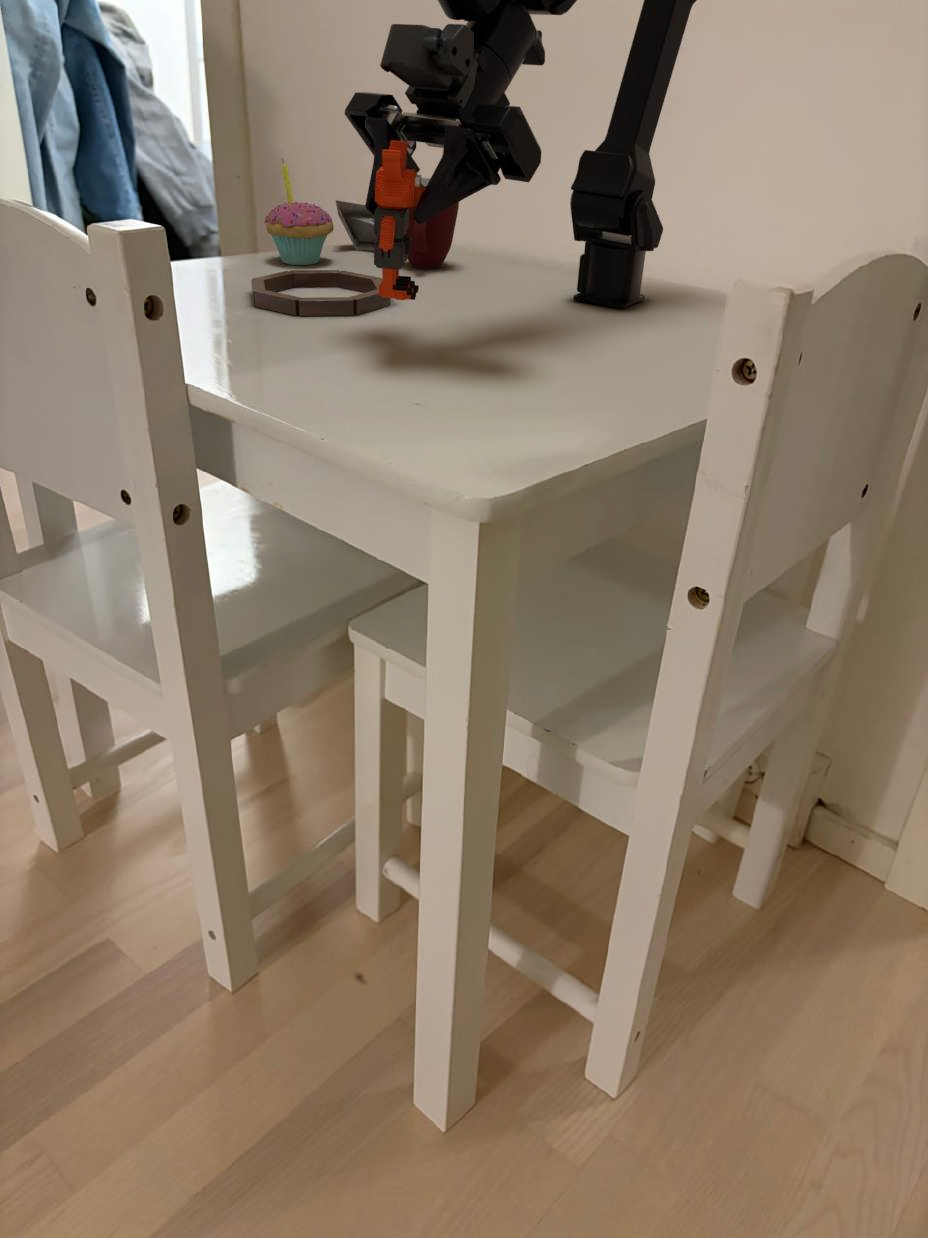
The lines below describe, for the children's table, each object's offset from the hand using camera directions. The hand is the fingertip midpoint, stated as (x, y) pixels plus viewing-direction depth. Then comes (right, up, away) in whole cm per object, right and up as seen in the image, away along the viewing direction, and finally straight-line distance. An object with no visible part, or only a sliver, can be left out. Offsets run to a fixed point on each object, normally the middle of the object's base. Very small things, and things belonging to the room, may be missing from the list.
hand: (392, 215), depth 81 cm
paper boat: (-7, +16, +50) cm, 53 cm away
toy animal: (+1, -5, +5) cm, 7 cm away
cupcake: (-15, +12, +42) cm, 46 cm away
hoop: (-10, +1, +25) cm, 27 cm away
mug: (+1, +11, +41) cm, 43 cm away
